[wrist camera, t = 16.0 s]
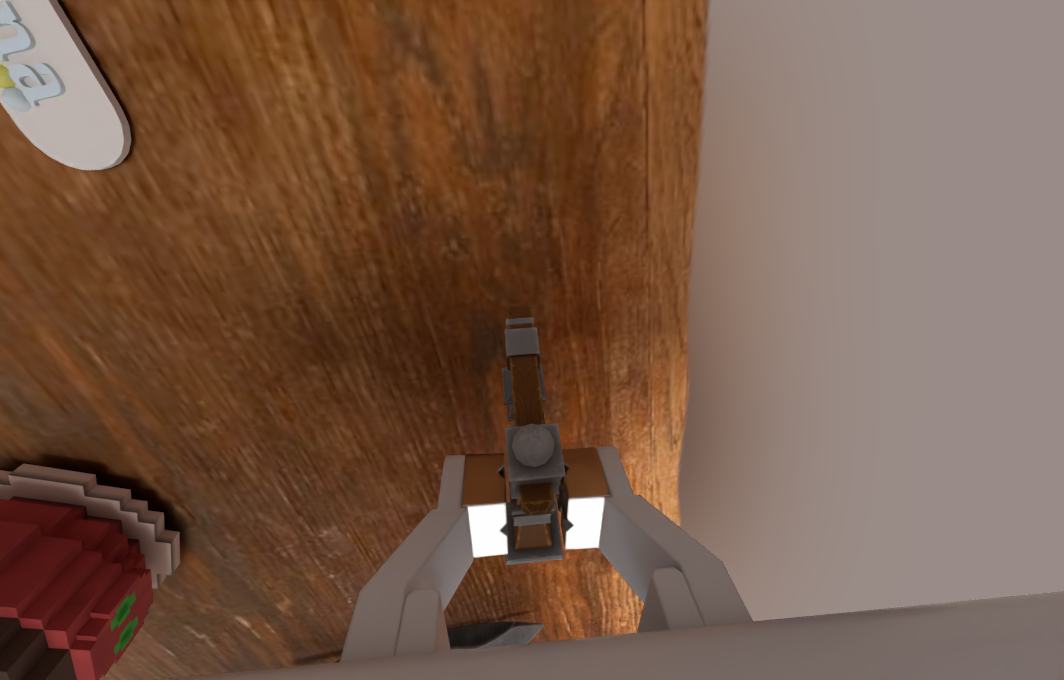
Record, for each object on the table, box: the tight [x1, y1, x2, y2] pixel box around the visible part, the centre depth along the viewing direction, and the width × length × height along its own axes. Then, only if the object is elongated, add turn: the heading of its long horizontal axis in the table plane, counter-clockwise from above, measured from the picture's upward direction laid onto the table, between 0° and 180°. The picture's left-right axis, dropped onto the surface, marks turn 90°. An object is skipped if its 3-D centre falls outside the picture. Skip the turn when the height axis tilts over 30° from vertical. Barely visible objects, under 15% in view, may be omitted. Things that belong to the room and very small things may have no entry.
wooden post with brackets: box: [502, 305, 565, 565], centre depth 11 cm, size 2×8×4 cm, turn 3°
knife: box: [336, 621, 545, 662], centre depth 27 cm, size 18×2×3 cm, turn 101°
